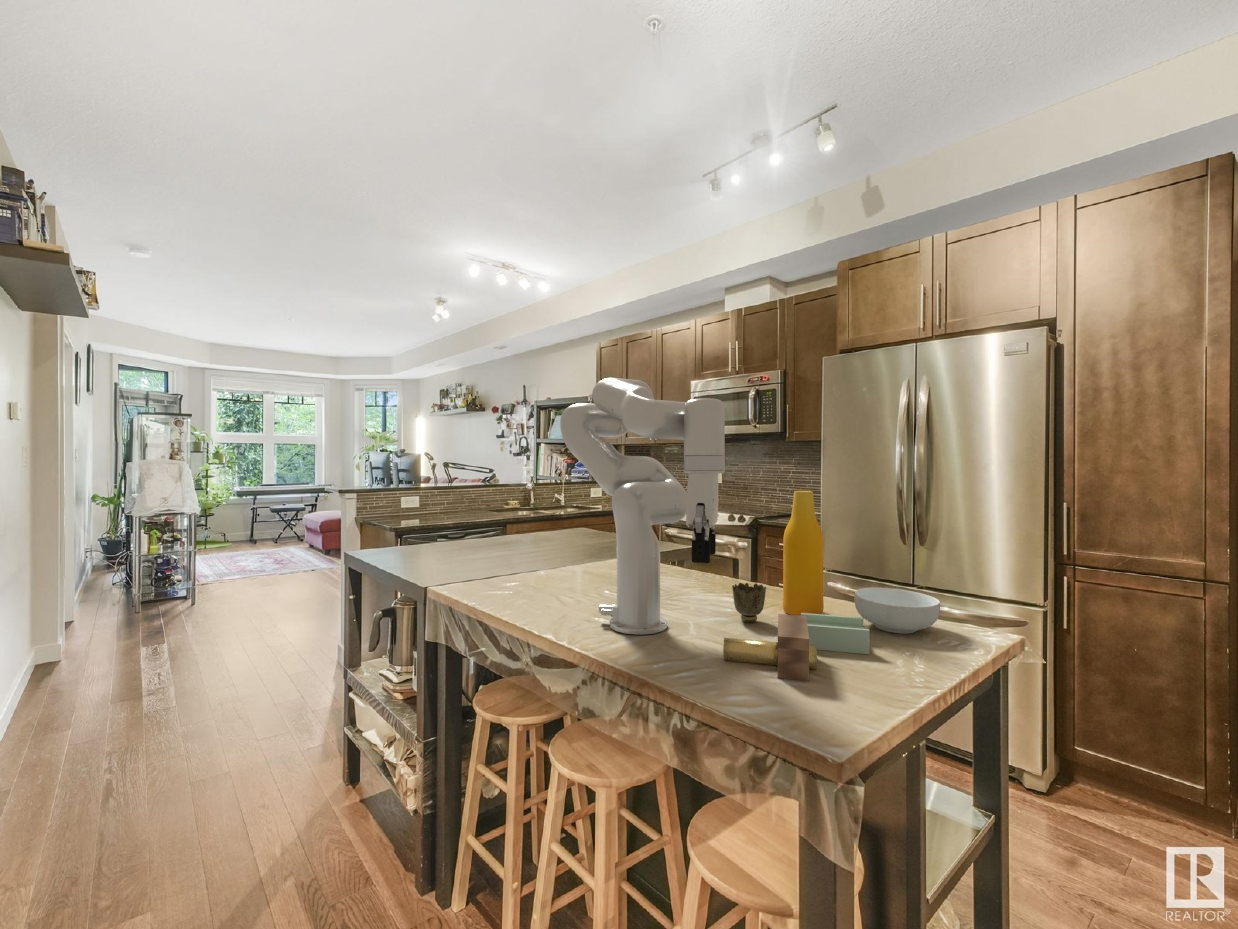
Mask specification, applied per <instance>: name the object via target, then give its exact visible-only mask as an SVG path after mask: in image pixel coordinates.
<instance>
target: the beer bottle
mask: <svg viewBox="0 0 1238 929" xmlns="http://www.w3.org/2000/svg"><path fill="white" fill-rule="evenodd" d="M813 492H814V491H810V490H794V492H793V497H792V498H793V499H792V509H791V516H790V518H789V521H788V523H787V525H786V527H785V529H784V533H783V540H782V542H783V543H782V545H783V547H782V548H783V550H782V552H783V554H782V555H783V560H782V561H783V563H782V564H783V565H782V566H783V568H782V570H783V571H782V573H783V576H782V577H783V578H782V582H783V584H782V588H783V589H782V592H783V593H782V609H783V611H784V612H785V613H786V615H799V616H801V613H810V614H823V613H824V549H825V548H824V544H825V542H824V534H823V531H822V528H821V526H820V524H819V522H818V519H817V517H816V508H815V501H814V500H815V499H814V493H813Z"/></svg>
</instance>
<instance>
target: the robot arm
mask: <svg viewBox="0 0 1238 929" xmlns="http://www.w3.org/2000/svg"><path fill="white" fill-rule="evenodd" d="M591 396H592V401H593V403H592V402H588V403H587V402H580V403H575V404H571V405H569V406H568V407H566V408H565V409H564V410H563V411H562V413H561V415H560V421H559V423H560V425H559V426H560V432H561V436H562V439H563V442H564V444H565V446H566V448H567V449H568V450H569V452H570V453H571V454H572V455H573V456H574V457H575V458H576V459H577V460H578V462H580V463H581V464H582V466H584V467H585V469H586V470H587V472H588V473H589V474H590V475H591V476H592V478H593V479H594V480H595V482H596V483H597V484H598V486H599V487H600V488H601V489H602V490H603V491H604V493H606V495H608V496H612V499H611V508H612V509H611V510H612V516H613V519H614V520H613V521H614V524H615V525H614V526H615V534H616V537H615V538H616V603H614V604H612V605H608V604H601V603H600V604H599V605H598V613H600V615H601V616H610V617H611V618H610V620H609V628H610V629H611V630H613V631H615V632H618V633H622V634H627V635H638V636H639V635H652V634H653V635H654V634H658V633H660V632H663V631H665V630H666V629H667V627H668V620H667V619H665V617H663V616H661V544H660V541H659V538H658V536H657V535H656V533H655V531H654V529H653V528H652V526H654V525H665V524H673V523H677V522H680V521H681V520H683V519H684V518H685V525H686V527H687V528H691V527H692V526H693V527H692V539H691V562H692V563H695V564H699V563H700V564H710V562H711V555H715V554H716V551H717V549H716V548H717V547H716V546H717V545H716V543H717V541H716V539H717V538H716V528H715V525H716V524H717V522H718V516H719V474H725V473H726V472H725V470H726V465H725V464H726V462H725V461H726V460H725V459H726V458H725V457H726V455H725V454H726V453H725V452H726V450H725V447H726V446H725V445H726V442H725V440H726V439H725V438H726V437H725V436H726V434H725V430H726V429H725V427H726V426H725V424H726V422H725V420H726V419H725V418H726V415H725V413H726V411H725V409H726V408H725V404H724V403H723V401H722V400H721V399H718V398H710V397H707V398H706V397H704V398H693V399H689V400H687V401H679V400H678V401H676V400H667V399H666V400H665V399H664V400H661V399H655V396H654V395H653V391H652V389H651V387H650V385H648V383H646V382H645V381H642V380H639V379H632V378H631V379H630V378H621V377H620V378H619V377H607V378H603V379H602V380H599V381H597V383H595V385H594V387H593V389H592V392H591ZM629 432H631V433H633V434H635V435H638V436H640V437H643V438H647V439H652V440H653V439H654V440H675V441H678V440H679V441H681V440H682V441H683V474H688V478H687V488H686V489H687V490H686V489H685V488H684V487H683V485H682V484H681V483H680V481H678V479H677V478H676V477H674V475H672V473H671V472H670V471H669V470H668V469H667V468H666V467H665V466H664V465H663V464H662V463H661V462H660V461H659V460H657V459H656V458H653V457H651V456H647V455H646V456H643V455H641V456H640V455H625V454H622V453H620V452H619V451H618V450H617V449H616V447H614V445H613V444H612V443H610V442H609V441H608V440H606V439H604V438H610V439H611V438H619V437H623V436H624V435H626V434H628V433H629Z"/></svg>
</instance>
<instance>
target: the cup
mask: <svg viewBox="0 0 1238 929" xmlns="http://www.w3.org/2000/svg"><path fill="white" fill-rule="evenodd" d="M731 588H732V596H733V604H734V607H735V609H736V612H737V613H739V614H740V620H741V621H742V622H743V623H749V624H751V623H752V624H753V623H755V622H757V621H758V615H760V614H761V613H762V611H763V610H764V606H765V599H766V591H767V587H766V586H764V585H763V584H758V583H756V582H755V583H754V584H753V586H752V585H751V586H750V585H749V583H748V582H746V583H745V584H744V583H742V582H739V583H738V584H736V583H734V584H733V585H732V587H731Z"/></svg>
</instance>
